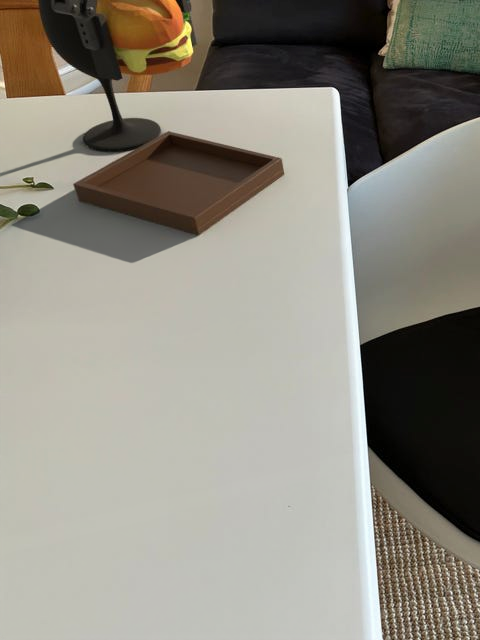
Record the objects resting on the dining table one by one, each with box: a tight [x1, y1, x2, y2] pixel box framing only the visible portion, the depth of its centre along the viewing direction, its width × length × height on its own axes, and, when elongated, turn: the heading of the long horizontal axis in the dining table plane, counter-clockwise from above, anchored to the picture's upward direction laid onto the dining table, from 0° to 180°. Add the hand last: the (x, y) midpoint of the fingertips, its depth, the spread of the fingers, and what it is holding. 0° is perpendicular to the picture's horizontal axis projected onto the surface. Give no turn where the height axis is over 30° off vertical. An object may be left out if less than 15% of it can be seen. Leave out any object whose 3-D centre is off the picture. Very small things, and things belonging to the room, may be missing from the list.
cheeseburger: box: [96, 0, 194, 76], centre depth 85 cm, size 10×11×10 cm
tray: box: [72, 130, 285, 236], centre depth 97 cm, size 19×17×2 cm
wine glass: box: [37, 0, 162, 153], centre depth 103 cm, size 10×10×20 cm
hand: (149, 60), depth 87 cm, fingers closed on cheeseburger, 11 cm apart
